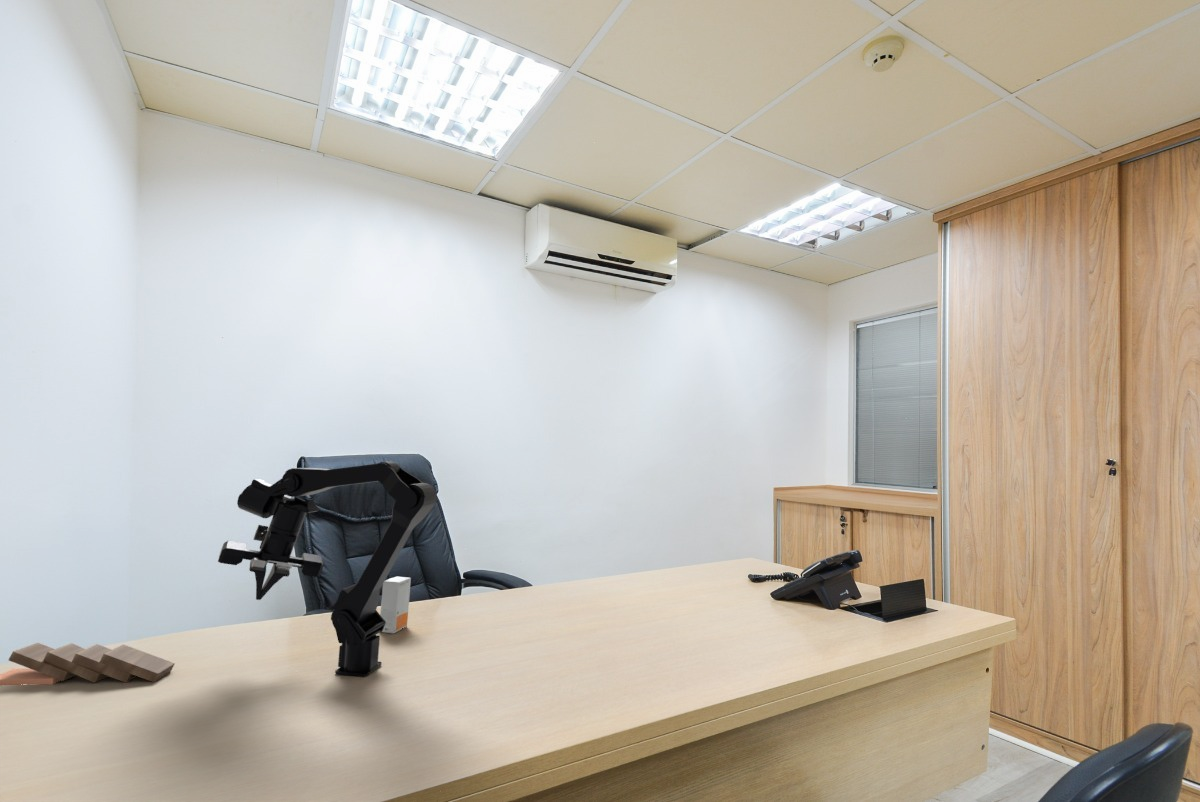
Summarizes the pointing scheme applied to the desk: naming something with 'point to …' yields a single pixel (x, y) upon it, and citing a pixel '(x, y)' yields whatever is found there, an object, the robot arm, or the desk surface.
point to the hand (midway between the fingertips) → (258, 599)
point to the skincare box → (395, 603)
